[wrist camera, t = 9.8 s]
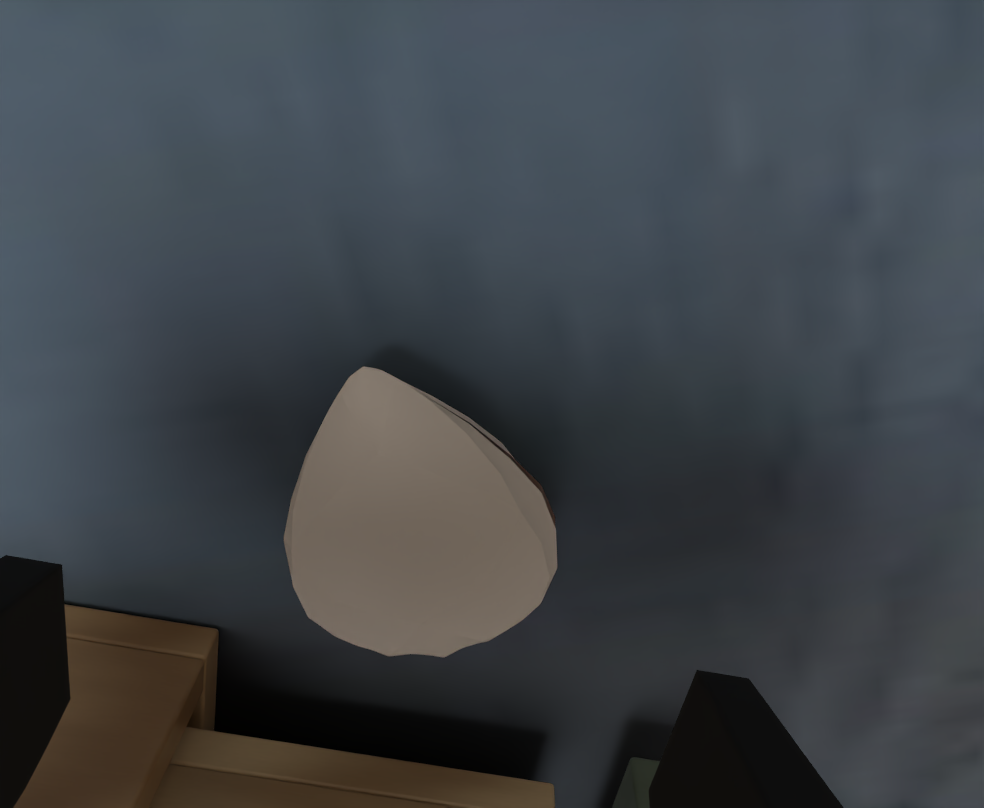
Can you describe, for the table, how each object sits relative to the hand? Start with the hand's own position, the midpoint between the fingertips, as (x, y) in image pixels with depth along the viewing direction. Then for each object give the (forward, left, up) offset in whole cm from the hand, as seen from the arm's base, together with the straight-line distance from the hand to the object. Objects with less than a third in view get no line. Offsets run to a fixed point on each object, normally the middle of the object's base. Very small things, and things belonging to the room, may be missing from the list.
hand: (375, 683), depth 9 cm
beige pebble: (0, 0, -5) cm, 5 cm away
